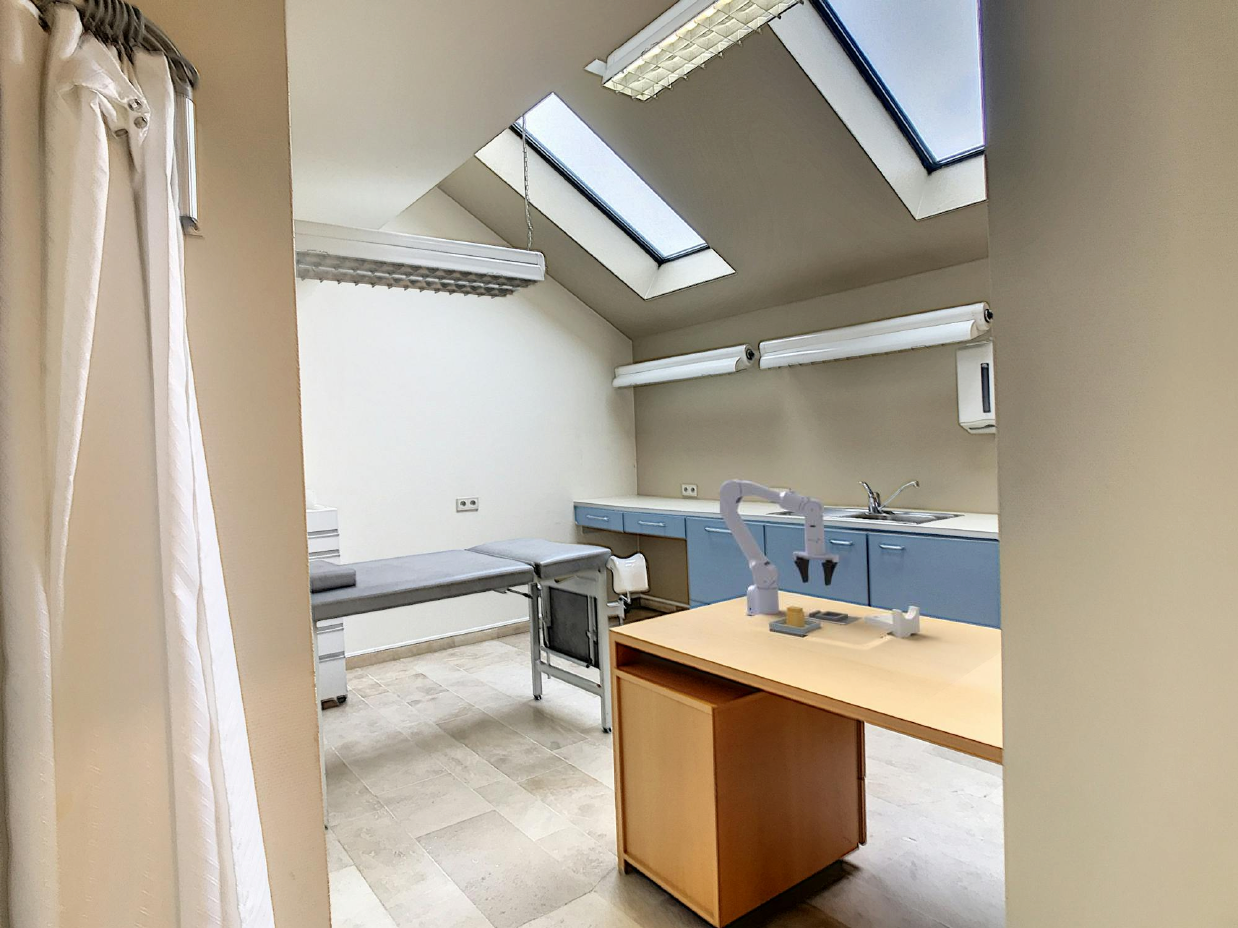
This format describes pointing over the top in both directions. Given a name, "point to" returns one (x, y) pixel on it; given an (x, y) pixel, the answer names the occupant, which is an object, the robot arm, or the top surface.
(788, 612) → the block
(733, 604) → the top surface
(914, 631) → the bracket
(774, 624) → the parts tray
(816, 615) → the grey socket base
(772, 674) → the top surface
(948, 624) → the top surface
